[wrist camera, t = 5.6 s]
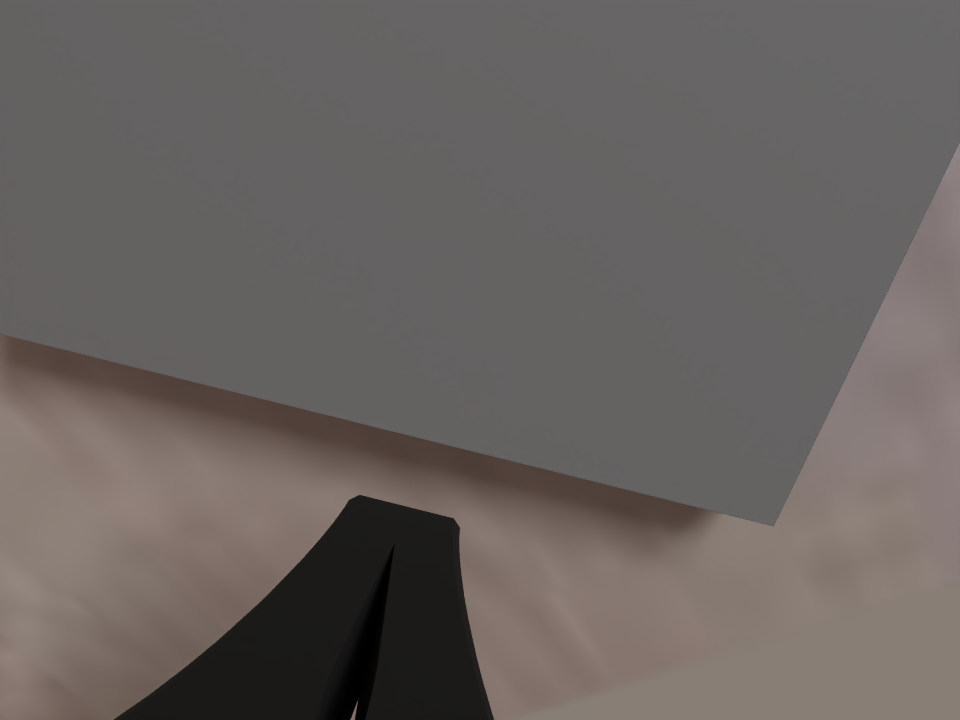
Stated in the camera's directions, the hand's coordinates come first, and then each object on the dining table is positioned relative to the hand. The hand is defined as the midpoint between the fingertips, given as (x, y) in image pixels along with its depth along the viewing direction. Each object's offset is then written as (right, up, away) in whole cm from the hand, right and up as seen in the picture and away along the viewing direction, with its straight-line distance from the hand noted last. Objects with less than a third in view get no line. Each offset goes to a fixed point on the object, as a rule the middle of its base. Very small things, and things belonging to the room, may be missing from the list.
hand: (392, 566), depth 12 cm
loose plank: (+1, +7, +5) cm, 9 cm away
